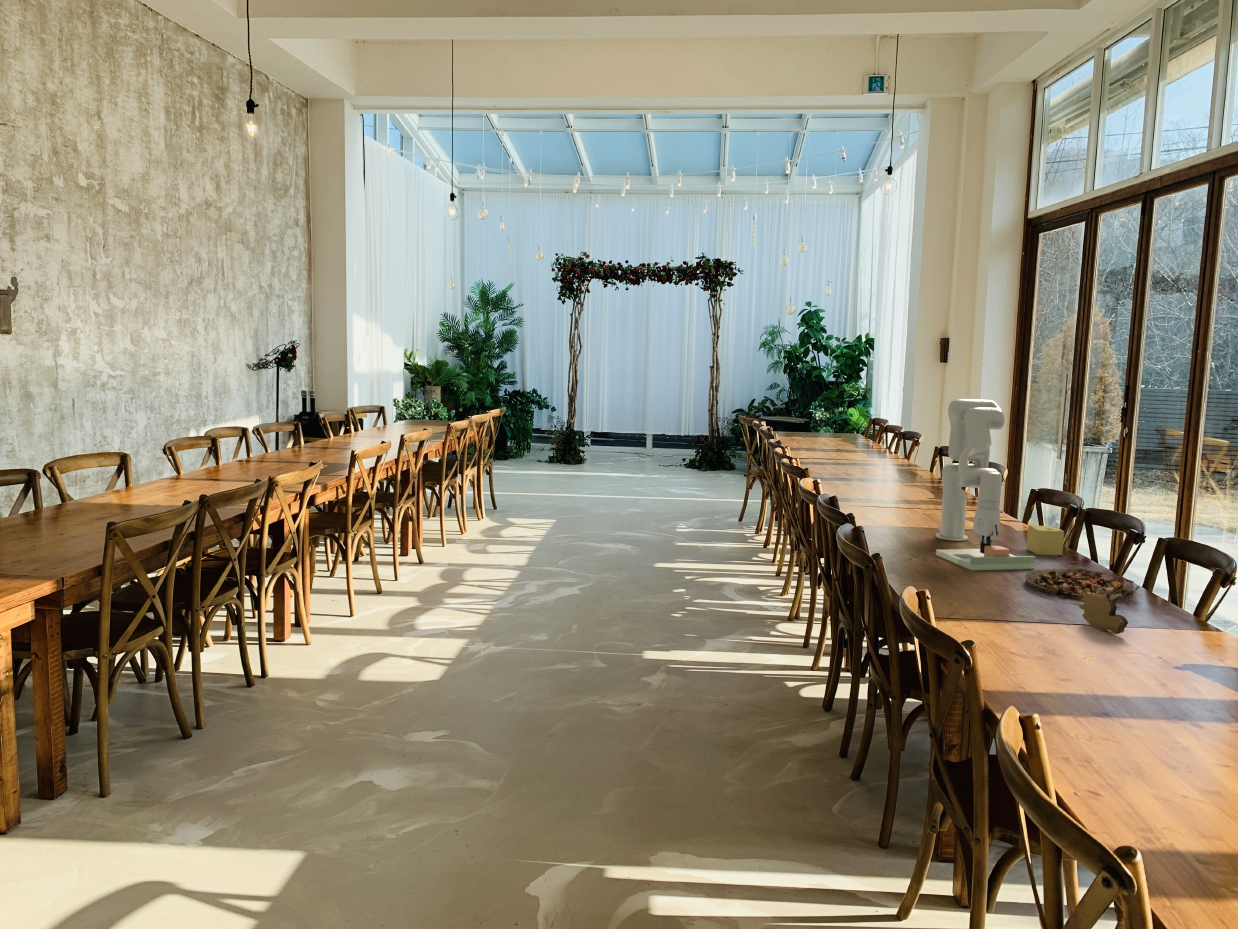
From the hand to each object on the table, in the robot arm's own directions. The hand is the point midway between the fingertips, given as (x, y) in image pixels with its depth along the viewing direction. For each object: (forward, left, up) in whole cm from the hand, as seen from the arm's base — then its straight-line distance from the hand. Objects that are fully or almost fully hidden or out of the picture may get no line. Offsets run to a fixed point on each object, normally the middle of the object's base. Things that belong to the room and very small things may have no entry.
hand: (985, 553), depth 328 cm
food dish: (+40, +9, -4) cm, 41 cm away
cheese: (-12, +34, -4) cm, 36 cm away
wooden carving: (+79, -14, -4) cm, 80 cm away
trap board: (-1, 0, -3) cm, 4 cm away
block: (+7, 0, -1) cm, 7 cm away
